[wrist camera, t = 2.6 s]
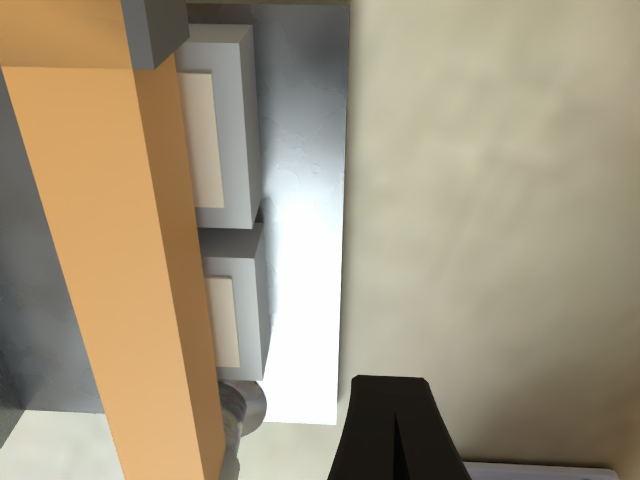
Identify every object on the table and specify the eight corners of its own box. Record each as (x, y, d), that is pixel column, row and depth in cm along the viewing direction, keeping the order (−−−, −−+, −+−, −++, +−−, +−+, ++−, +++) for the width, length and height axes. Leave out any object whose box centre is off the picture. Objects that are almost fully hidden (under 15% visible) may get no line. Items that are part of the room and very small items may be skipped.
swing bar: (242, 492, 21) (227, 576, 18) (158, 487, 21) (131, 570, 18) (180, -47, 11) (128, -26, 9) (23, -49, 11) (-72, -29, 9)
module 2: (264, 223, 18) (253, 260, 16) (270, 340, 20) (262, 383, 19) (109, 217, 18) (82, 254, 16) (136, 334, 21) (115, 376, 19)
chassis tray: (350, -2, 15) (348, 27, 12) (336, 424, 24) (333, 499, 21) (-153, -10, 16) (-272, 15, 13) (22, 409, 25) (-24, 480, 22)
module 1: (252, 24, 14) (238, 43, 13) (262, 195, 17) (251, 230, 15) (64, 21, 15) (23, 40, 13) (102, 190, 17) (74, 224, 16)
